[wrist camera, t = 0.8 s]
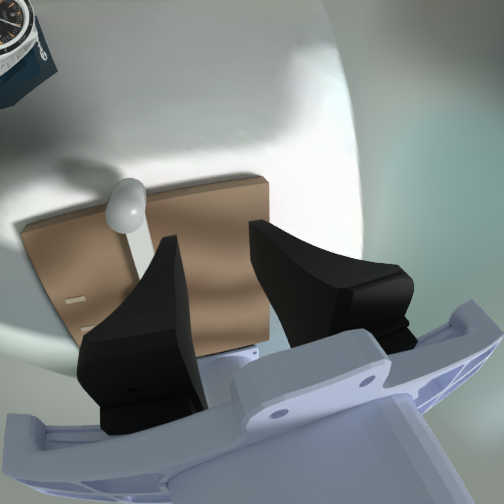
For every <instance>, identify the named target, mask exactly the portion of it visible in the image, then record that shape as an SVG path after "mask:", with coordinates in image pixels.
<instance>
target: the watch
mask: <svg viewBox="0 0 504 504" xmlns="http://www.w3.org/2000/svg"><path fill="white" fill-rule="evenodd" d="M56 72H58V71H57V69H56V66H55V64H54V61H53V59H52V57H51V54H50V51H49V49H48V46H47V44H46V41H45V38H44V36H43V33H42V30H41V27H40V25H39V22H38V19H37V16H35V15H34V10H33V7H32V5H31V3H30V1H29V0H0V109H3V108H7V107H10V106H13V105H15V104H16V103H17V102H18V101H19V100H20V99H22V98H23V97H24V96H25V95H27V94H28V93H29V92H30V91H32V90H33V89H34V88H36V87H37V86H38V85H39V84H41V83H42V82H44V81H45V80H46V79H48V78H49V77H50V76H52V75H53V74H55V73H56Z"/></svg>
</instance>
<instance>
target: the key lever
mask: <svg viewBox="0 0 504 504" xmlns="http://www.w3.org/2000/svg"><path fill="white" fill-rule="evenodd" d="M146 197H147V192H146V188H145V186H144V185H143V184H142V183H141V182H140V181H139V180H137V179H134V178H126V179H123V180H121V181H120V182H118V183H117V184H116V186H115V188H114V190H113V192H112V195H111V197H110V200H109V202H108V205H107V208H106V211H105V218H106V222H107V224H108V225H109V226H110V228H111V229H113V230H114V231H116V232H118V233H123V234H126V236H127V239H128V243H129V246H130V249H131V253H132V256H133V259H134V263H135V266H136V269H137V272H138V275H139V278H140V279H141V278H142V276H143V275H144V273H145V271H146V270H147V268H148V266H149V264H150V262H151V260H152V258H153V256H154V254H155V252H154V248H153V244H152V240H151V236H150V232H149V228H148V223H147V219H146V215H145V206H146Z"/></svg>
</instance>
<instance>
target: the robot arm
mask: <svg viewBox="0 0 504 504" xmlns="http://www.w3.org/2000/svg"><path fill="white" fill-rule="evenodd" d="M248 224H249V244H250V261H251V264H252V267H253V269H254V272H255V275H256V277H257V279H258V281H259V283H260V285H261V287H262V289H263V291H264V292H265V294H266V296H267V298H268V300H269V301H270V303H271V305H272V307H273V309H274V310H275V312H276V314H277V316H278V318H279V320H280V322H281V324H282V327H283V329H284V332H285V334H286V337H287V339H288V342H289V344H290V347H291V349H288V350H284V351H280V352H277V353H273V354H270V355H266V356H264V357H261V358H259V349H258V347H257V346H251V347H246V348H242V349H238V350H234V351H230V352H225V353H221V354H216V355H211V356H207V357H202V358H197V359H196V355H195V350H194V345H193V340H192V332H191V321H190V309H189V296H188V289H187V283H186V278H185V272H184V268H183V263H182V258H181V254H180V249H179V244H178V239H177V234H176V235H171V236H166V237H162V239H161V240H160V243H159V245H158V248H157V250H156V252H155V254H154V256H153V258H152V260H151V262H150V264H149V266H148V268H147V270H146V271H145V273H144V275H143V276H142V278H141V279H140V281H139V282H138V284H137V285H136V287H135V288H134V289H133V291H132V292H131V293H130V294H129V295H128V297H127V298H126V299H125V300H124V301H123V302H122V303H121V304H120V305H119V306H118V307H117V308H116V309H115V310H114V311H113V312H112V313H111V314H110V315H109V316H108V317H107V318H105V319H104V320H103V321H102V322H101V323H99V324H98V325H97V326H95V327H94V328H93V329H91V330H90V331H89V332H87V333H86V334H84V335H83V339H82V342H81V346H80V351H79V357H78V365H77V379H78V381H79V383H80V384H81V386H82V387H83V389H84V390H85V391H86V392H87V393H88V394H89V395H90V397H91V398H92V399H93V400H94V401H95V402H96V403H97V404H98V405H99V406H100V425H87V426H86V425H84V426H45V424H44V423H43V422H42V421H41V420H39V419H38V418H37V417H35V416H32V415H28V414H13V413H9V414H7V421H6V429H5V438H4V449H3V465H2V472H3V474H4V475H6V476H8V477H10V478H12V479H14V480H16V481H18V482H20V483H22V484H24V485H26V486H28V487H30V488H32V489H35V490H37V491H39V492H41V493H44V494H49V495H54V496H61V497H68V498H75V499H83V500H91V501H101V502H114V503H135V504H140V503H141V504H160V503H161V504H162V503H172V504H475V503H474V501H473V499H472V498H471V496H470V494H469V492H468V491H467V489H466V487H465V485H464V483H463V482H462V480H461V478H460V477H459V475H458V473H457V471H456V470H455V468H454V466H453V465H452V463H451V461H450V460H449V458H448V456H447V455H446V453H445V451H444V450H443V448H442V447H441V445H440V443H439V442H438V440H437V438H436V437H435V436H434V434H433V432H432V431H431V429H430V427H429V426H428V424H427V423H426V421H425V420H424V418H423V416H422V414H424V413H425V412H426V411H428V410H429V409H430V408H432V407H433V406H434V405H436V404H437V403H438V402H440V401H441V400H442V399H444V398H445V397H446V396H447V395H449V394H450V393H451V392H452V391H454V390H455V389H456V388H457V387H459V386H460V385H461V384H462V383H464V382H465V381H466V380H467V379H468V378H469V377H471V376H472V375H473V374H474V373H476V372H477V371H478V370H479V369H480V368H481V366H482V365H483V364H484V363H485V361H486V360H487V359H488V357H489V356H490V355H491V353H492V352H493V351H494V349H495V348H496V347H497V345H498V344H499V342H500V341H501V340H502V338H503V337H504V332H503V331H502V330H501V329H500V328H499V327H498V326H497V325H496V324H495V323H494V322H493V320H492V319H491V318H490V317H489V316H488V315H487V314H486V313H485V312H484V311H483V310H482V309H481V308H480V307H479V306H478V305H477V304H476V303H475V302H474V301H473V300H472V299H470V300H468V301H466V302H465V303H463V304H461V305H459V306H458V307H457V308H456V309H455V310H454V311H453V313H452V314H451V316H450V318H449V322H447V323H445V324H443V325H442V326H440V327H438V328H436V329H434V330H432V331H430V332H429V333H427V334H425V335H423V336H421V337H419V338H417V339H416V338H415V336H414V335H413V334H412V333H411V331H410V330H409V329H408V328H407V327H408V326H409V321H408V320H407V319H406V317H405V314H406V311H407V309H408V307H409V304H410V302H411V299H412V296H413V292H414V282H413V280H412V278H411V277H410V276H409V275H408V274H407V273H406V272H405V271H404V270H403V269H402V268H400V266H399V265H394V264H384V263H375V262H369V261H364V260H358V259H354V258H350V257H346V256H342V255H339V254H335V253H332V252H329V251H326V250H324V249H321V248H318V247H316V246H313V245H311V244H309V243H307V242H305V241H302V240H300V239H298V238H296V237H294V236H292V235H291V234H289V233H287V232H285V231H283V230H281V229H280V228H278V227H276V226H274V225H273V224H271V223H269V222H267V221H265V220H263V219H260V220H254V221H248Z"/></svg>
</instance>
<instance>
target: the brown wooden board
mask: <svg viewBox="0 0 504 504" xmlns="http://www.w3.org/2000/svg"><path fill="white" fill-rule="evenodd" d="M107 205H108V204H104V205H100V206H96V207H91V208H87V209H83V210H79V211H75V212H72V213H68V214H64V215H60V216H57V217H53V218H49V219H46V220H42V221H39V222H35V223H32V224H29V225H26V226H25V228H24V229H23V230H22V232H21V233H20V236H21V238H22V241H23V243H24V245H25V248H26V250H27V252H28V255H29V257H30V259H31V261H32V263H33V266H34V268H35V270H36V272H37V274H38V276H39V278H40V280H41V282H42V284H43V286H44V288H45V290H46V292H47V294H48V295H49V297H50V299H51V301H52V303H53V305H54V306H55V308H56V310H57V312H58V313H59V315H60V317H61V319H62V320H63V322H64V324H65V325H66V327H67V328H68V330H69V332H70V333H71V335H72V336H73V338H74V340H75V341H76V343H77V344H78V346H79V347H80V346H81V342H82V339H83V335H84V334H86V333H87V332H89V331H90V330H91V329H93V328H94V327H95V326H97V325H98V324H99V323H101V322H102V321H103V320H104V319H105V318H107V317H108V316H109V315H110V314H111V313H112V312H113V311H114V310H115V309H116V308H117V307H118V306H119V305H120V304H121V303H122V302H123V301H124V300H125V299H126V298H127V297H128V295H129V294H130V293H131V292H132V291H133V289H134V288H135V287H136V285H137V284H138V282H139V281H140V278H139V275H138V272H137V269H136V266H135V263H134V259H133V256H132V253H131V249H130V246H129V243H128V239H127V236H126V234H123V233H118V232H116V231H114V230H113V229H111V228H110V226H109V225H108V224H107V222H106V218H105V211H106V208H107ZM145 215H146V219H147V223H148V228H149V232H150V236H151V240H152V244H153V248H154V252H156V250H157V248H158V245H159V243H160V240H161V239H162V237H166V236H171V235H176V234H177V239H178V244H179V249H180V254H181V258H182V263H183V268H184V272H185V278H186V283H187V289H188V296H189V309H190V321H191V332H192V340H193V345H194V350H195V355H196V357H199V356H204V355H208V354H213V353H218V352H222V351H227V350H231V349H235V348H240V347H244V346H248V345H252V344H256V343H260V342H264V341H268V340H269V310H270V301H269V300H268V298H267V296H266V294H265V292H264V291H263V289H262V287H261V285H260V283H259V281H258V279H257V277H256V275H255V272H254V269H253V267H252V264H251V261H250V244H249V224H248V221H254V220H260V219H263V220H265V221H267V222H269V182H268V181H267V180H266V179H265V178H264V177H263V176H262V177H254V178H247V179H239V180H232V181H225V182H219V183H212V184H206V185H200V186H194V187H188V188H182V189H177V190H171V191H166V192H161V193H155V194H150V195H147V197H146V206H145Z"/></svg>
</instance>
